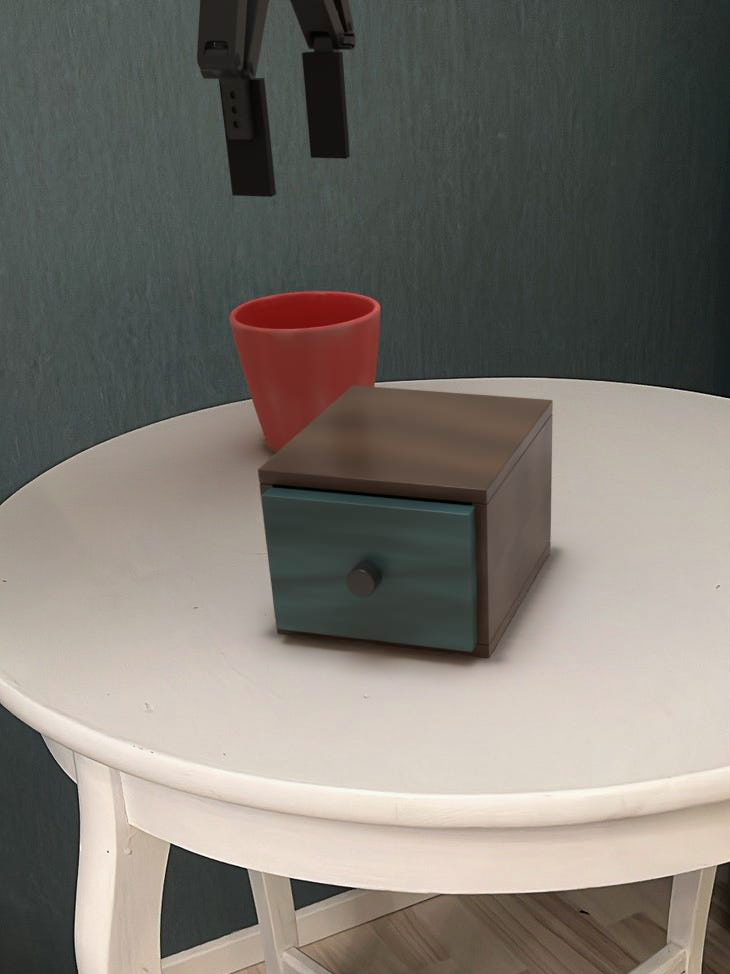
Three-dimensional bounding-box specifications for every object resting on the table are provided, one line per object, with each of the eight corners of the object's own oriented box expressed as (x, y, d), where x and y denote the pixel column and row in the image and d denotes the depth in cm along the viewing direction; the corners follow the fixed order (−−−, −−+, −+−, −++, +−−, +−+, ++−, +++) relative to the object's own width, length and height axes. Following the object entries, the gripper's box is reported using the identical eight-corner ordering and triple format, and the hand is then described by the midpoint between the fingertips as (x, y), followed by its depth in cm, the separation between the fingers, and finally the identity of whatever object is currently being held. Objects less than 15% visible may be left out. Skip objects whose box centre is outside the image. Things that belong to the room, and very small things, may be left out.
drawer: (465, 662, 72) (462, 523, 67) (267, 639, 74) (251, 503, 70) (532, 552, 83) (533, 426, 79) (358, 534, 86) (349, 412, 81)
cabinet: (489, 658, 74) (486, 489, 68) (276, 632, 77) (257, 469, 71) (550, 551, 85) (552, 399, 80) (363, 533, 88) (352, 384, 83)
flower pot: (225, 433, 104) (208, 301, 98) (355, 409, 108) (346, 281, 102) (273, 477, 97) (257, 337, 91) (411, 450, 101) (405, 314, 95)
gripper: (227, -238, 68) (274, 215, 81) (387, -220, 88) (404, 145, 100) (95, -232, 70) (160, 211, 83) (280, -215, 89) (310, 142, 102)
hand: (294, 175), depth 92 cm, fingers open, 13 cm apart
